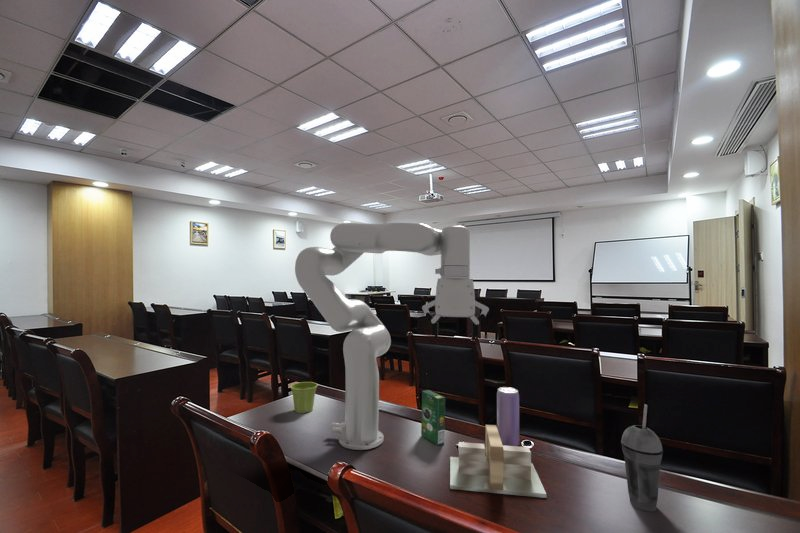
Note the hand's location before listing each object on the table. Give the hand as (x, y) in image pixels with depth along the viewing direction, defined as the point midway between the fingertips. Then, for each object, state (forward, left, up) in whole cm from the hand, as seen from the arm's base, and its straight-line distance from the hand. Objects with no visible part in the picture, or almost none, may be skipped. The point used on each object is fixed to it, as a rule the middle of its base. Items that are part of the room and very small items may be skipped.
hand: (454, 338), depth 92 cm
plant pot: (-52, +26, -31) cm, 66 cm away
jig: (+9, -8, -30) cm, 32 cm away
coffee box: (-6, +10, -31) cm, 33 cm away
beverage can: (+15, +11, -31) cm, 36 cm away
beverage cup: (+38, -13, -31) cm, 50 cm away
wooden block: (+9, -8, -30) cm, 32 cm away
